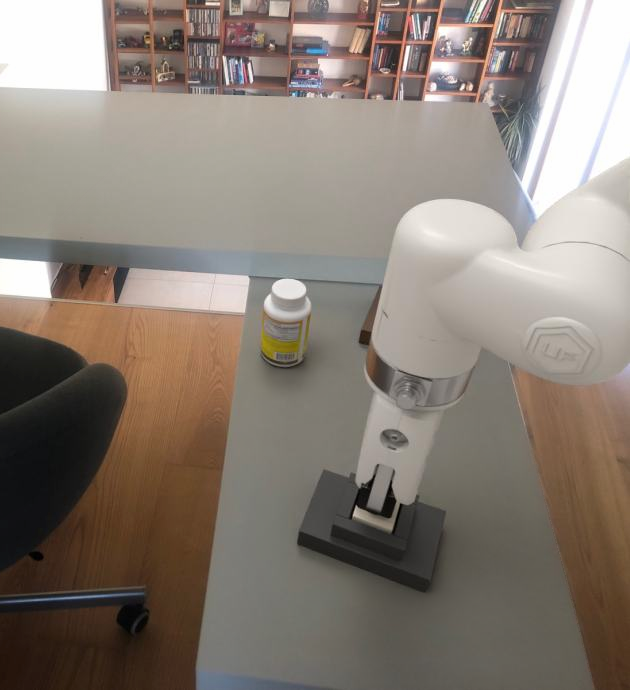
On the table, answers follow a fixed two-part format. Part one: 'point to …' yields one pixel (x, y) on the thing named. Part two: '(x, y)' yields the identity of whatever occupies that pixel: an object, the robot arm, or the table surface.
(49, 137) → the table surface
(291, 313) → the supplement bottle
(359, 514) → the near key
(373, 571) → the stepped wall plate
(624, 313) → the robot arm
